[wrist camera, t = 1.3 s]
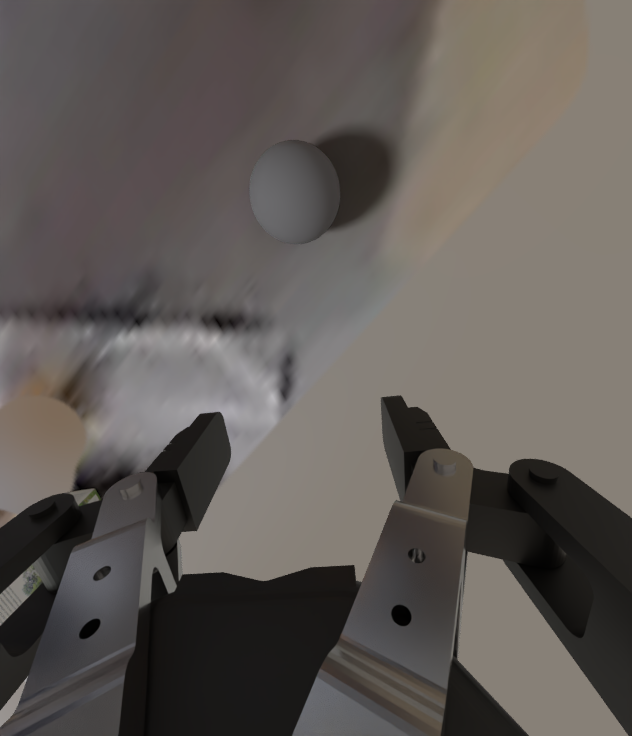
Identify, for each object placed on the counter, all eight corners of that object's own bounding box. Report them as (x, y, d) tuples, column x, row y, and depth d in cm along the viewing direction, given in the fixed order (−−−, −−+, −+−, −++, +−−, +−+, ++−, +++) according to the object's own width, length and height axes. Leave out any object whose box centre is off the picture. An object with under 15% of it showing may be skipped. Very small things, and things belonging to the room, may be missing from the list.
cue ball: (243, 189, 23) (217, 167, 18) (311, 137, 22) (306, 97, 16) (287, 260, 25) (276, 262, 19) (353, 217, 24) (361, 204, 18)
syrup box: (49, 494, 34) (-137, 654, 20) (97, 485, 33) (-61, 644, 20) (74, 532, 36) (-81, 703, 22) (120, 525, 35) (-10, 695, 22)
